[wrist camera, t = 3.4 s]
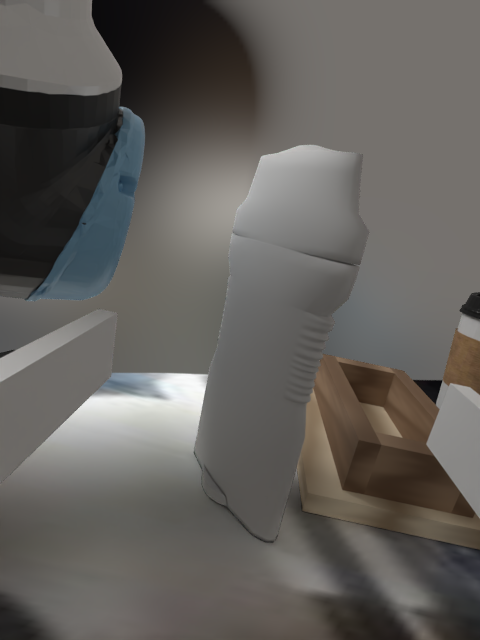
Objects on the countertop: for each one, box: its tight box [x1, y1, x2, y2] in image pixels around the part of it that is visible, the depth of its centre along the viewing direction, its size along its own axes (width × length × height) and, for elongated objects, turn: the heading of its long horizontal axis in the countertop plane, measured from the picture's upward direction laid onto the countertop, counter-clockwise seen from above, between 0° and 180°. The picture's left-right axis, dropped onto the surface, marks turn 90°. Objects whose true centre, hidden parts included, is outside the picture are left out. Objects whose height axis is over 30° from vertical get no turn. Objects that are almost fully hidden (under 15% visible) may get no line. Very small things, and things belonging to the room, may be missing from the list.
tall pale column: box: [194, 145, 369, 542], centre depth 22 cm, size 11×4×22 cm, turn 34°
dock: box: [297, 354, 480, 550], centre depth 31 cm, size 14×18×6 cm
